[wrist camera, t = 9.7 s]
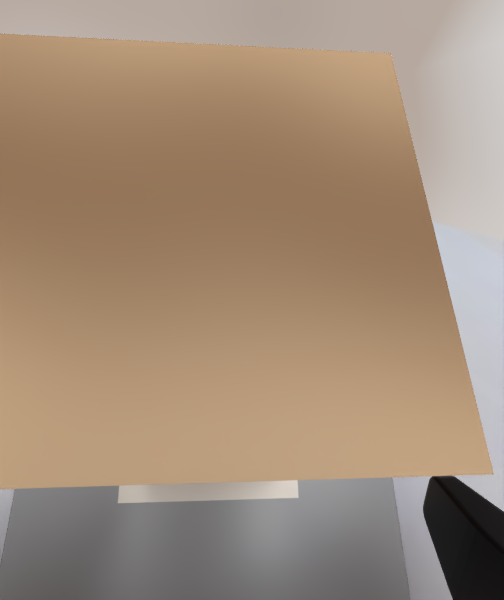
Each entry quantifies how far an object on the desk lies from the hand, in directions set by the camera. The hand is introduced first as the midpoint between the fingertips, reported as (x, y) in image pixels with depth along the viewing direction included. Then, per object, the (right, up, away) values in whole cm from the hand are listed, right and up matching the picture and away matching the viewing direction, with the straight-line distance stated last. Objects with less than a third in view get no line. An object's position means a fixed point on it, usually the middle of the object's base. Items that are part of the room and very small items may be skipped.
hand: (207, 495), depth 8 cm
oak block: (-1, -1, +8) cm, 8 cm away
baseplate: (-1, -1, +10) cm, 10 cm away
